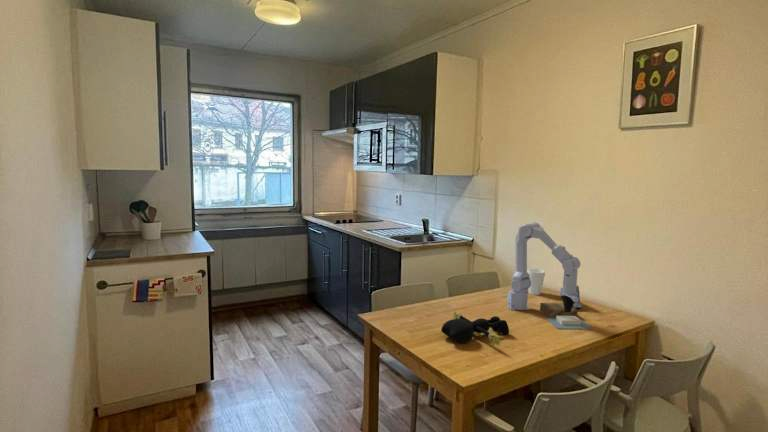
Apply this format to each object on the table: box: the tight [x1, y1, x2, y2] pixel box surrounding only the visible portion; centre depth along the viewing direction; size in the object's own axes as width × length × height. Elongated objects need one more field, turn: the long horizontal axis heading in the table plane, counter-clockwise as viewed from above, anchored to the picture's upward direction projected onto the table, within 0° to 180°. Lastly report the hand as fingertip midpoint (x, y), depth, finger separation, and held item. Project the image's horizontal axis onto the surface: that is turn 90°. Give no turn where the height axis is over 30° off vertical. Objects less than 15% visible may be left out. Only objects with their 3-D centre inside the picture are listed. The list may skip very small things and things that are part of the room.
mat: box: [545, 317, 594, 330], centre depth 198 cm, size 16×13×1 cm
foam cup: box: [527, 268, 546, 296], centre depth 243 cm, size 10×9×13 cm
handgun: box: [560, 285, 583, 310], centre depth 226 cm, size 4×18×12 cm, turn 179°
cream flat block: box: [556, 316, 582, 325], centre depth 199 cm, size 9×6×2 cm, turn 91°
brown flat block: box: [539, 302, 579, 318], centre depth 210 cm, size 14×10×4 cm
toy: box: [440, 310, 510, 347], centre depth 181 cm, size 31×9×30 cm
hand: (567, 311), depth 200 cm, fingers closed
